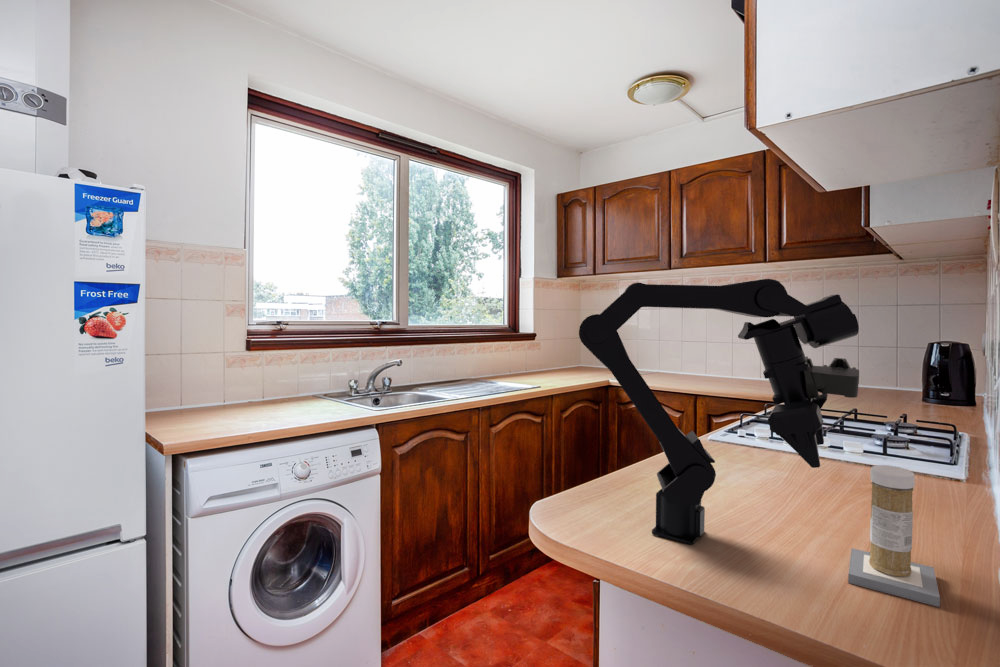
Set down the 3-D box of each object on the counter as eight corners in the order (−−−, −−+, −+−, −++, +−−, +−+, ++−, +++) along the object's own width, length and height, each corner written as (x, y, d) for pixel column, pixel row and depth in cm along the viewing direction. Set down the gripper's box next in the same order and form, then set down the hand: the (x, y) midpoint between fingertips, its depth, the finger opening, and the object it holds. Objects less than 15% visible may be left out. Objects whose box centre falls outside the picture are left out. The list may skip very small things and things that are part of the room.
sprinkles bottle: (884, 558, 69) (887, 462, 68) (920, 575, 65) (923, 472, 64) (859, 563, 68) (862, 465, 67) (894, 580, 63) (897, 475, 63)
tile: (848, 582, 65) (848, 573, 65) (851, 556, 72) (851, 547, 72) (939, 607, 60) (939, 596, 60) (933, 575, 67) (933, 566, 67)
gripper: (842, 359, 64) (885, 474, 63) (846, 332, 79) (880, 426, 78) (751, 378, 71) (789, 483, 70) (770, 350, 85) (801, 436, 85)
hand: (818, 455), depth 76 cm, fingers open, 9 cm apart
